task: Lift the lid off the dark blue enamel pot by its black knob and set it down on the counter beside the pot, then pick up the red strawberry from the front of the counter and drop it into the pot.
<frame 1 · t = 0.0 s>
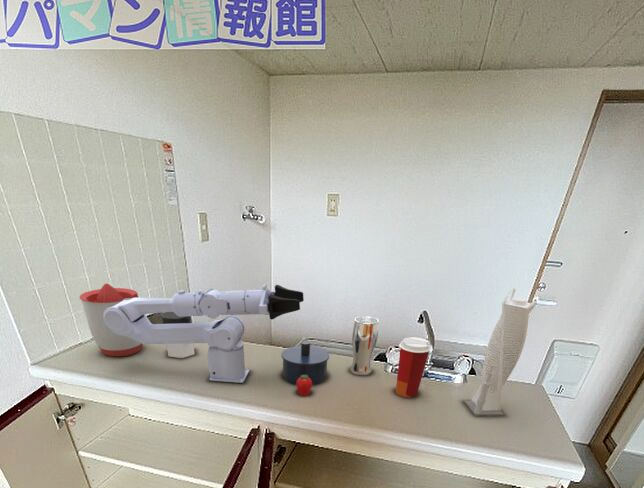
hand: (301, 300, 99), 22 cm above the counter, tool horizontal, fingers open, 7 cm apart
strawberry: (304, 392, 106), on the counter
pot: (304, 375, 114), on the counter
paper cup: (405, 393, 107), on the counter
beer glass: (360, 371, 118), on the counter
jar: (181, 353, 126), on the counter
lid: (305, 356, 111), point 6 cm above the counter, touching pot
skyscraper: (483, 407, 102), on the counter
citrus juicer: (125, 351, 127), on the counter
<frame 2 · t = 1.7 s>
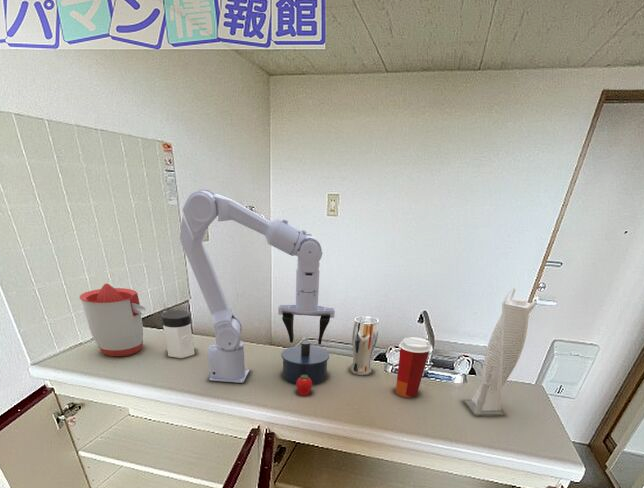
hand: (305, 342, 109), 10 cm above the counter, tool pointing down, fingers open, 7 cm apart
nothing on the counter moved.
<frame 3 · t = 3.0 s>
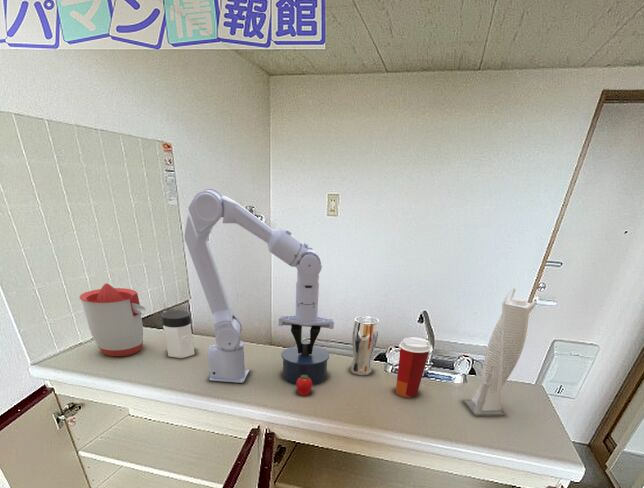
hand: (305, 352, 111), 7 cm above the counter, tool pointing down, fingers closed on lid, 2 cm apart
lid: (305, 356, 111), point 6 cm above the counter, touching gripper, pot
everything else where it was.
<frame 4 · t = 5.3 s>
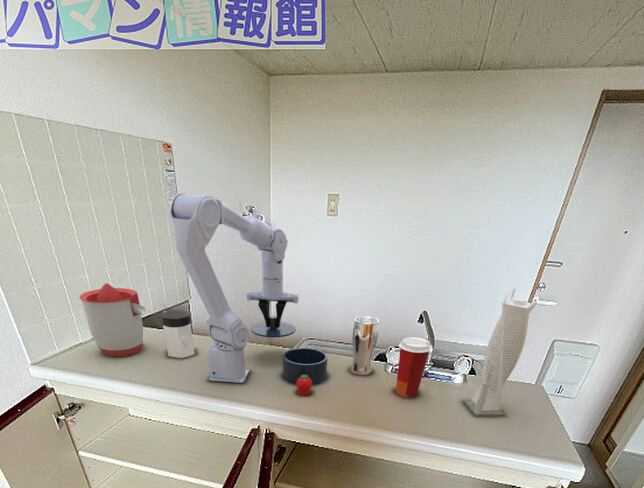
hand: (273, 326, 118), 10 cm above the counter, tool pointing down, fingers closed on lid, 2 cm apart
lid: (273, 329, 119), point 9 cm above the counter, touching gripper
everything else where it was.
when the fingers open (2 cm above the counter, at t = 7.6 s): lid stays where it is, point 1 cm above the counter.
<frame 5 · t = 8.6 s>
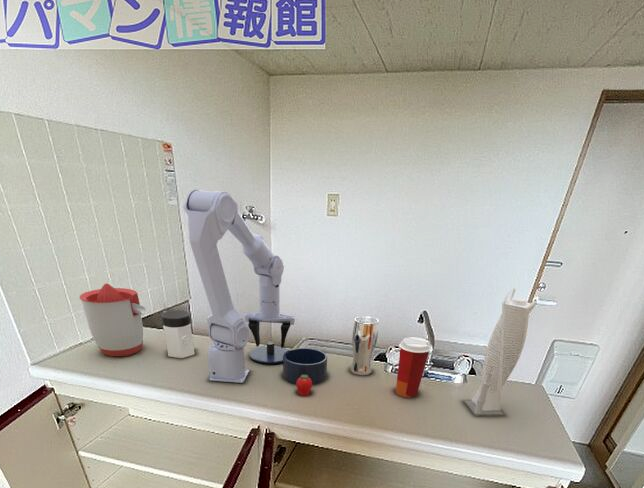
hand: (270, 346, 123), 4 cm above the counter, tool pointing down, fingers open, 7 cm apart
lid: (270, 354, 125), point 1 cm above the counter
everything else where it was.
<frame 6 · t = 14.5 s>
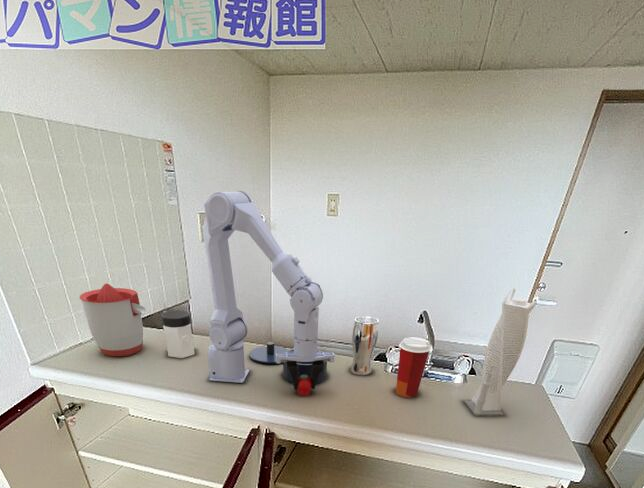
hand: (304, 387, 105), 1 cm above the counter, tool pointing down, fingers closed on strawberry, 4 cm apart
strawberry: (303, 392, 106), on the counter, touching gripper
everything else where it was.
when the fingers open (4 cm above the counter, at t = 18.8 s): strawberry drops 2 cm, resting on pot.
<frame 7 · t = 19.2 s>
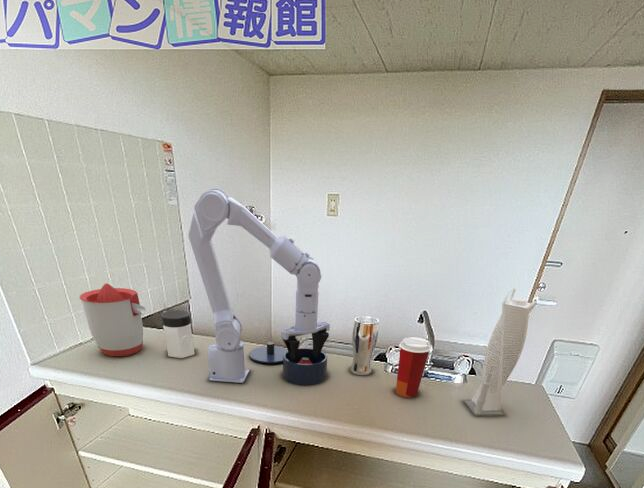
hand: (305, 359, 112), 5 cm above the counter, tool pointing down, fingers open, 7 cm apart
strawberry: (304, 374, 114), resting on pot
everything else where it was.
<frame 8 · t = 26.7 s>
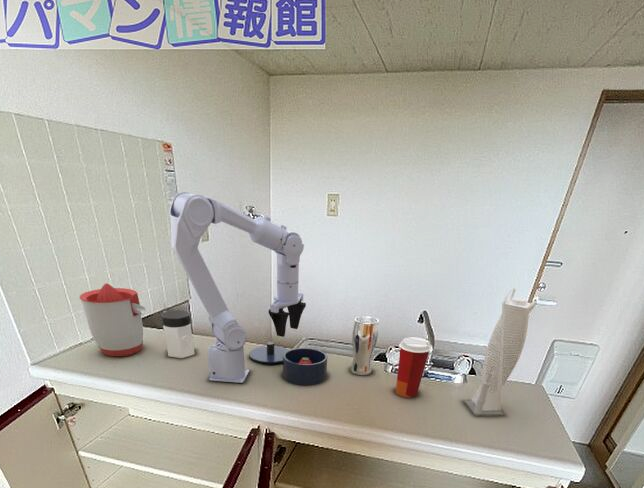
hand: (287, 332, 115), 10 cm above the counter, tool pointing down, fingers open, 7 cm apart
nothing on the counter moved.
at the end: lid inside the target area (0.1 cm from its centre), point 0.6 cm above the counter; strawberry inside the target area in the pot (0.0 cm from its centre), point 0.4 cm above the pot's base; the gripper is holding nothing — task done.
